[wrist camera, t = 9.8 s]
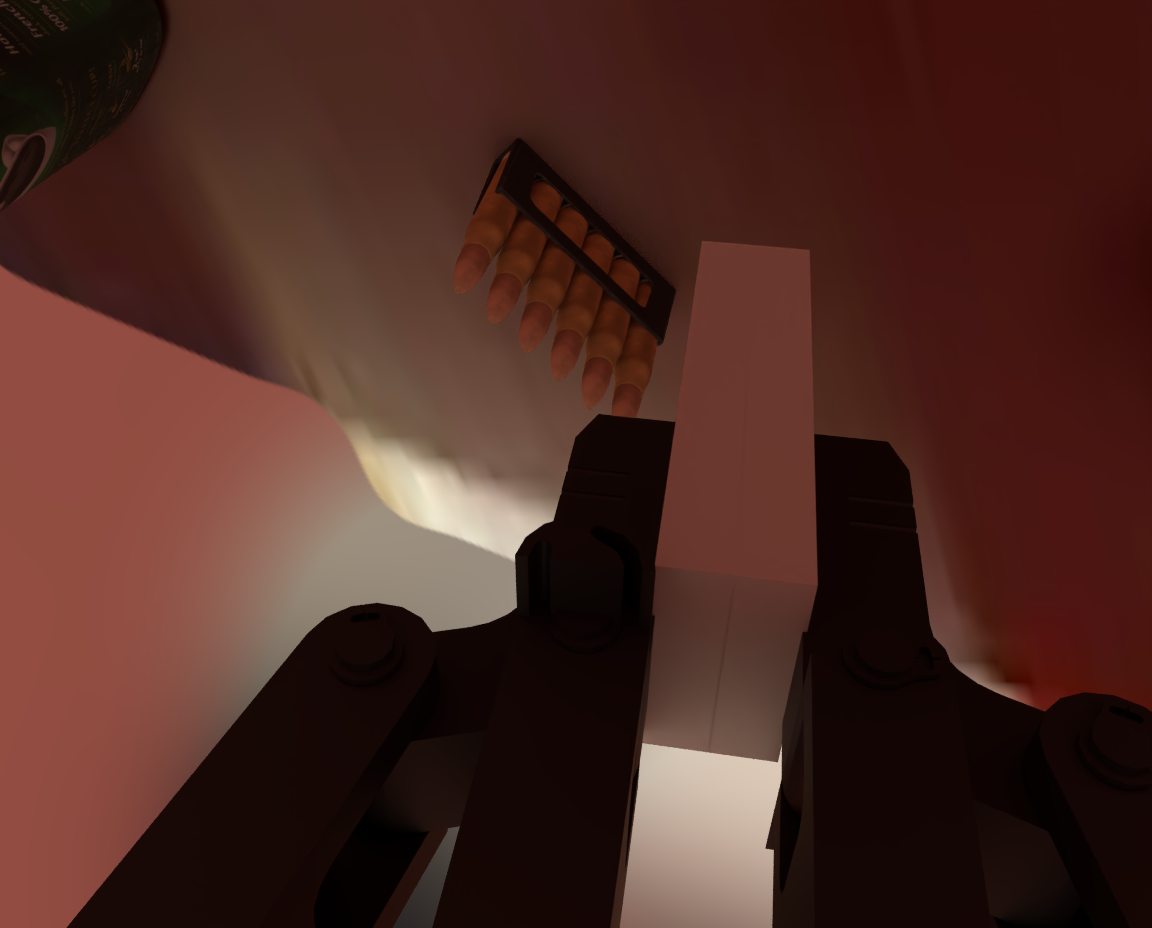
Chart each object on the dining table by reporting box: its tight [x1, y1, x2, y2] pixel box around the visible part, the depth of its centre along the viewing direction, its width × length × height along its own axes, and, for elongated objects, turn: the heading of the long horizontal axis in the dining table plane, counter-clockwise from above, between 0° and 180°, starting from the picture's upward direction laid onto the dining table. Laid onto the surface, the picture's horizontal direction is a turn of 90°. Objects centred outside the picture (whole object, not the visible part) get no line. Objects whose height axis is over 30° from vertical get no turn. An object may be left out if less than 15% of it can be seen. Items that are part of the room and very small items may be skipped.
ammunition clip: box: [453, 139, 676, 418], centre depth 46 cm, size 11×2×12 cm, turn 47°
